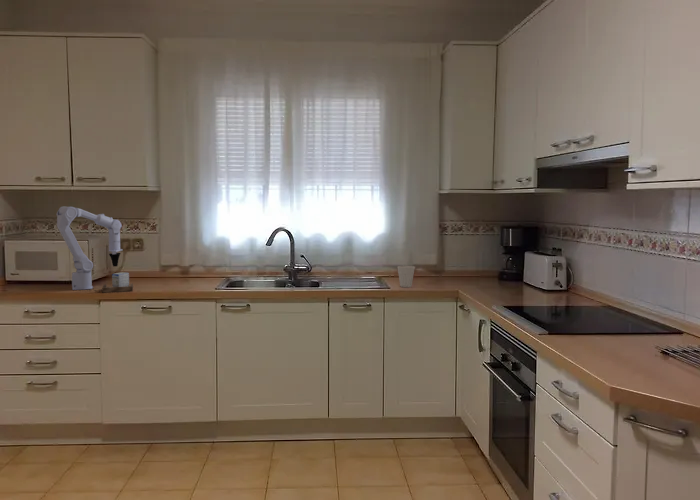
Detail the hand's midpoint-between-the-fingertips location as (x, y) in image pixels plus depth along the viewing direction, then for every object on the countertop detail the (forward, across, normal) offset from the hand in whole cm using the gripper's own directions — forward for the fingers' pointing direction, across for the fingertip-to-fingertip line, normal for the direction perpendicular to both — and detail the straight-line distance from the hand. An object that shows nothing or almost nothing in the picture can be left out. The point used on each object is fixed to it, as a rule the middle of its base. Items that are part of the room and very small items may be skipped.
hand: (115, 266), depth 326 cm
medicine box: (+11, -17, -3) cm, 20 cm away
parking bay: (+10, -18, -2) cm, 21 cm away
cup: (+11, -51, -150) cm, 159 cm away
